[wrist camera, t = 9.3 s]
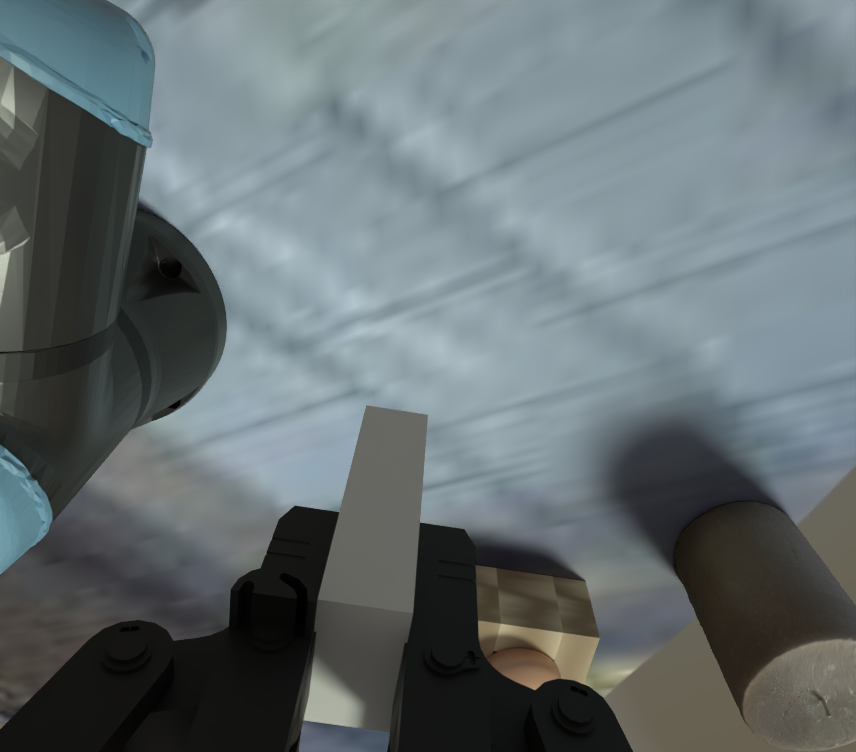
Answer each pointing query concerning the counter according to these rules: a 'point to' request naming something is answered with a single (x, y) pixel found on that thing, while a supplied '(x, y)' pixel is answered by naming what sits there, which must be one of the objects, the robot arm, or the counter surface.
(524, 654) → the knob
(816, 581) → the pillar candle
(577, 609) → the housing
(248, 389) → the counter surface
